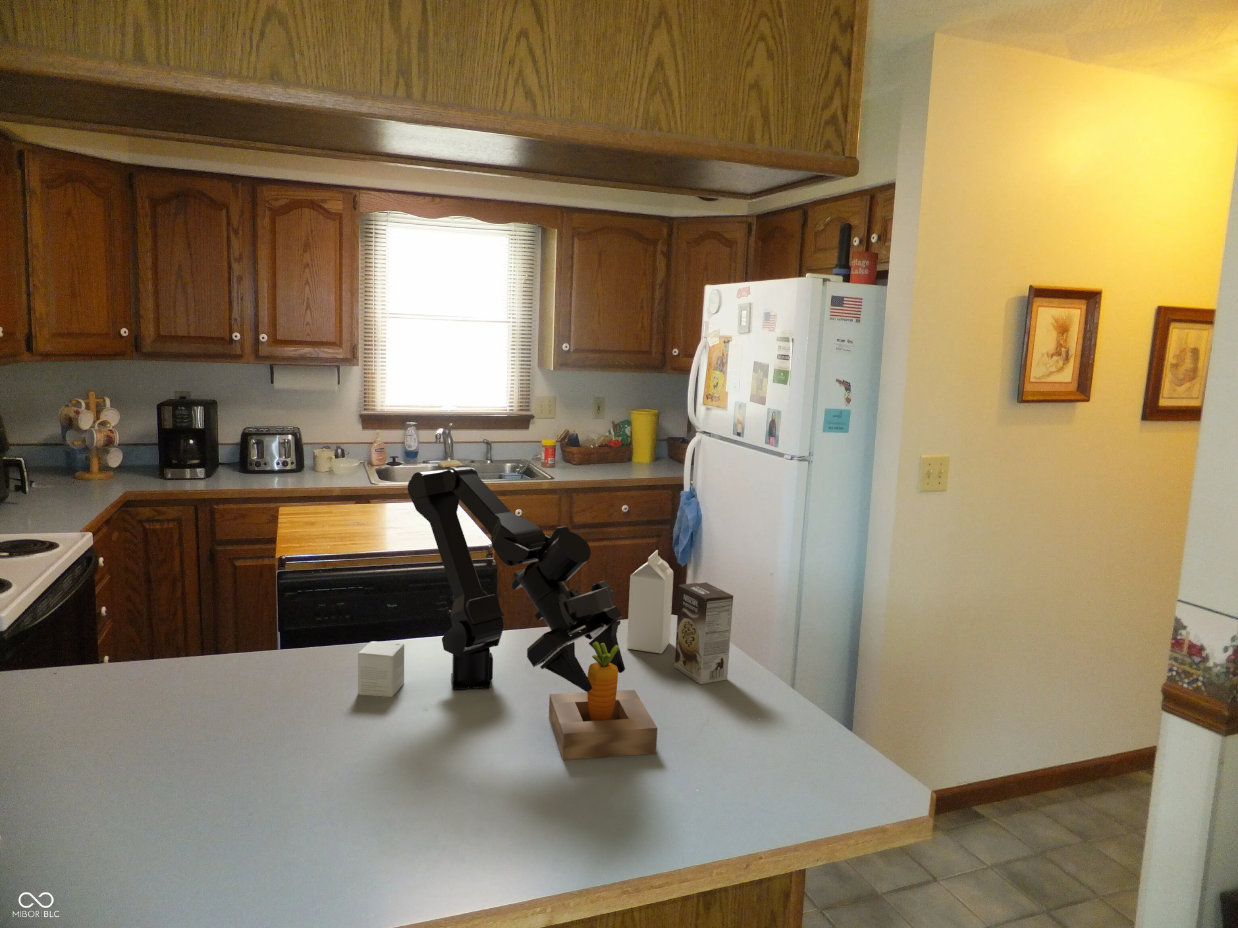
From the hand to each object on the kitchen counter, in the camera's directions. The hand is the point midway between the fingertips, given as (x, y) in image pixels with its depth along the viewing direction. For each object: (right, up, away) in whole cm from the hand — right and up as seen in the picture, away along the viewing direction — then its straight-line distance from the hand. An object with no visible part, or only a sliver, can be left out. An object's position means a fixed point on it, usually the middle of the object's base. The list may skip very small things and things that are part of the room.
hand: (606, 680), depth 130 cm
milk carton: (+8, -4, +41) cm, 42 cm away
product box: (-39, -6, +15) cm, 42 cm away
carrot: (-1, -9, +2) cm, 9 cm away
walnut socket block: (-1, -9, +2) cm, 9 cm away
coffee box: (+17, -6, +28) cm, 34 cm away
